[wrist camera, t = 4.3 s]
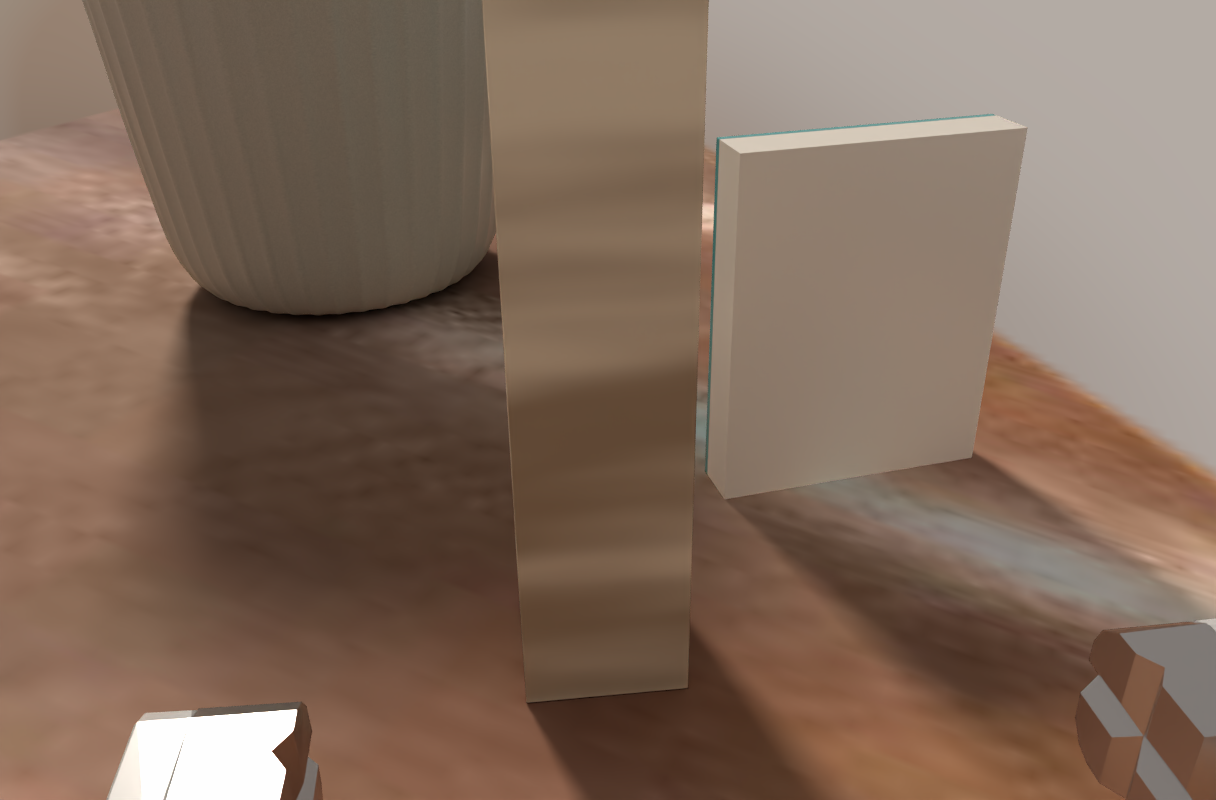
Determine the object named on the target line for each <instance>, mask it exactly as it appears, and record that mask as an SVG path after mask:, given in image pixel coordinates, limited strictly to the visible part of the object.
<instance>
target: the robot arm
mask: <svg viewBox="0 0 1216 800" xmlns="http://www.w3.org/2000/svg"><path fill="white" fill-rule="evenodd" d="M1089 661H1090V663H1091V664H1092V666H1093V667H1094V669H1095V670H1096V672H1097V673H1098V676H1097V677H1096V678H1095V679H1094V680H1093V681H1092V682H1091V683H1090V684H1089V685H1088V686H1087V687H1086V688H1085V689H1084V690H1083V691H1082V692H1081V693H1080V697H1079V702H1078V707H1077V712H1076V717H1075V719H1076V726H1077V734H1078V741H1079V745H1080V748H1081V750H1082V753H1083V755H1084V758H1085V760H1086V763H1087V765H1088V766H1089V768H1090V769H1091V771H1092V772H1093V774H1094V776H1095V777H1096V779H1097V780H1098V782H1099V783H1100V784H1102V785H1103V786H1105V787H1106V788H1108V789H1110V790H1111V791H1113V792H1115V793H1116V794H1118V795H1119V796H1121V797H1123V798H1124V799H1125V800H1216V618H1214V619H1205V620H1196V621H1194V622H1181V623H1171V624H1161V625H1150V626H1140V627H1130V628H1120V629H1110V630H1103V631H1102V632H1101V633H1100V634H1099V636H1098V637H1097V638H1096V639H1095V640H1094V643H1093V646H1092V650H1091V654H1090V657H1089ZM311 735H312V729H311V724H310V720H309V715H308V711H307V706H306V705H305V704H303V703H302V702H292V703H277V704H261V705H246V706H231V707H216V708H201V709H198V710H189V711H172V712H156V713H145V714H144V715H143V716H142V717H141V718H140V719H139V721H138V722H137V723H136V724H135V725H134V727H133V730H132V733H131V735H130V738H129V741H128V743H127V746H126V749H125V751H124V754H123V757H122V759H121V762H120V765H119V767H118V770H117V773H116V775H115V778H114V781H113V784H112V786H111V789H110V792H109V794H108V797H107V800H323V794H322V783H321V777H320V771H319V766H318V764H316V763H315V762H314V761H313V760H311V759H310V758H309V757H308V754H309V747H310V741H311Z"/></svg>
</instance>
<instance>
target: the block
mask: <svg viewBox="0 0 1216 800" xmlns="http://www.w3.org/2000/svg"><path fill="white" fill-rule="evenodd" d="M708 4H709V0H482V13H483V29H484V45H485V61H486V77H487V93H488V109H489V124H490V140H491V156H492V172H493V188H494V204H495V220H496V236H497V252H498V268H499V284H500V300H501V316H502V332H503V348H504V364H505V380H506V395H507V411H508V427H509V443H510V459H511V475H512V491H513V507H514V523H515V539H516V555H517V571H518V587H519V602H520V617H521V631H522V645H523V659H524V674H525V688H526V702H527V703H529V702H540V701H551V700H561V699H572V698H583V697H594V696H605V695H616V694H627V693H638V692H649V691H660V690H671V689H681V688H688V665H689V632H690V599H691V566H692V533H693V500H694V467H695V434H696V400H697V367H698V334H699V301H700V268H701V235H702V202H703V169H704V136H705V102H706V101H705V100H706V69H707V37H708V35H707V34H708Z"/></svg>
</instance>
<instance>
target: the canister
mask: <svg viewBox="0 0 1216 800" xmlns="http://www.w3.org/2000/svg"><path fill="white" fill-rule="evenodd" d="M82 1H83V4H84V7H85V10H86V13H87V15H88V18H89V21H90V24H91V27H92V30H93V33H94V36H95V39H96V42H97V45H98V48H99V51H100V54H101V57H102V60H103V63H104V66H105V69H106V72H107V75H108V78H109V81H110V84H111V87H112V90H113V93H114V96H115V99H116V102H117V104H118V107H119V110H120V113H121V116H122V119H123V122H124V125H125V128H126V130H127V133H128V136H129V139H130V142H131V145H132V147H133V150H134V153H135V156H136V158H137V161H138V164H139V166H140V169H141V172H142V175H143V177H144V180H145V183H146V185H147V188H148V191H149V194H150V196H151V199H152V202H153V204H154V207H155V210H156V213H157V215H158V218H159V221H160V223H161V226H162V228H163V231H164V233H165V235H166V238H167V240H168V242H169V244H170V246H171V248H172V250H173V252H174V254H175V255H176V257H177V258H178V260H179V262H180V263H181V264H182V266H183V267H184V268H185V269H186V271H187V272H188V273H189V274H190V275H191V277H192V278H193V279H194V280H195V281H196V282H197V283H198V284H199V285H200V286H201V287H203V288H204V289H206V290H207V291H209V292H211V293H212V294H213V295H215V296H216V297H218V298H220V299H222V300H225V301H229V302H230V303H232V304H234V305H236V306H242V307H248V308H250V309H252V310H258V311H269V312H270V313H277V314H281V313H288V314H292V315H302V314H312V315H324V314H344V313H349V312H365V311H367V310H372V309H382V308H387V307H389V306H392V305H396V304H404V303H407V302H409V301H411V300H414V299H420V298H423V297H427V296H428V295H429V294H430V293H435V292H438V291H441V290H443V289H445V288H446V287H447V286H449V285H451V284H454V283H457V282H458V281H459V280H460V279H461V278H462V277H463V276H466V275H468V274H469V273H470V272H471V271H472V270H473V269H474V268H475V267H476V265H478V264H479V263H480V261H481V260H482V259H483V258H484V256H485V254H486V253H487V251H488V249H489V247H490V244H491V243H492V240H493V238H494V236H495V233H496V220H495V204H494V188H493V172H492V156H491V140H490V124H489V109H488V93H487V77H486V61H485V45H484V29H483V13H482V0H82Z"/></svg>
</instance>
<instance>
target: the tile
mask: <svg viewBox="0 0 1216 800" xmlns="http://www.w3.org/2000/svg"><path fill="white" fill-rule="evenodd" d="M1026 133H1027V127H1025V126H1022V125H1019V124H1017V123H1014V122H1012V121H1009V120H1006V119H1004V118H1001V117H999V116H996V115H994V114H986V115H975V116H962V117H951V118H939V119H927V120H917V121H904V122H892V123H881V124H870V125H857V126H847V127H834V128H823V129H811V130H799V131H787V132H775V133H764V134H752V135H741V136H729V137H717V144H716V173H715V202H714V230H713V259H712V287H711V316H710V345H709V373H708V402H707V430H706V459H705V472H706V473H707V475H708V476H709V478H710V479H711V481H712V482H713V483H714V485H715V486H716V488H717V489H718V491H719V492H720V494H721V495H722V497H723V498H724V499H730V498H736V497H742V496H748V495H754V494H760V493H765V492H771V491H777V490H783V489H789V488H795V487H801V486H807V485H813V484H819V483H825V482H831V481H837V480H842V479H848V478H854V477H860V476H866V475H872V474H878V473H884V472H890V471H896V470H902V469H908V468H914V467H919V466H925V465H931V464H937V463H943V462H949V461H955V460H961V459H967V458H972V453H973V447H974V441H975V435H976V429H977V423H978V417H979V412H980V406H981V400H982V394H983V388H984V382H985V376H986V370H987V364H988V358H989V353H990V347H991V341H992V335H993V329H994V323H995V317H996V310H997V305H998V299H999V293H1000V288H1001V282H1002V276H1003V270H1004V264H1005V257H1006V252H1007V246H1008V240H1009V234H1010V229H1011V223H1012V217H1013V210H1014V205H1015V199H1016V193H1017V187H1018V181H1019V175H1020V169H1021V163H1022V158H1023V151H1024V146H1025V140H1026Z"/></svg>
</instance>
